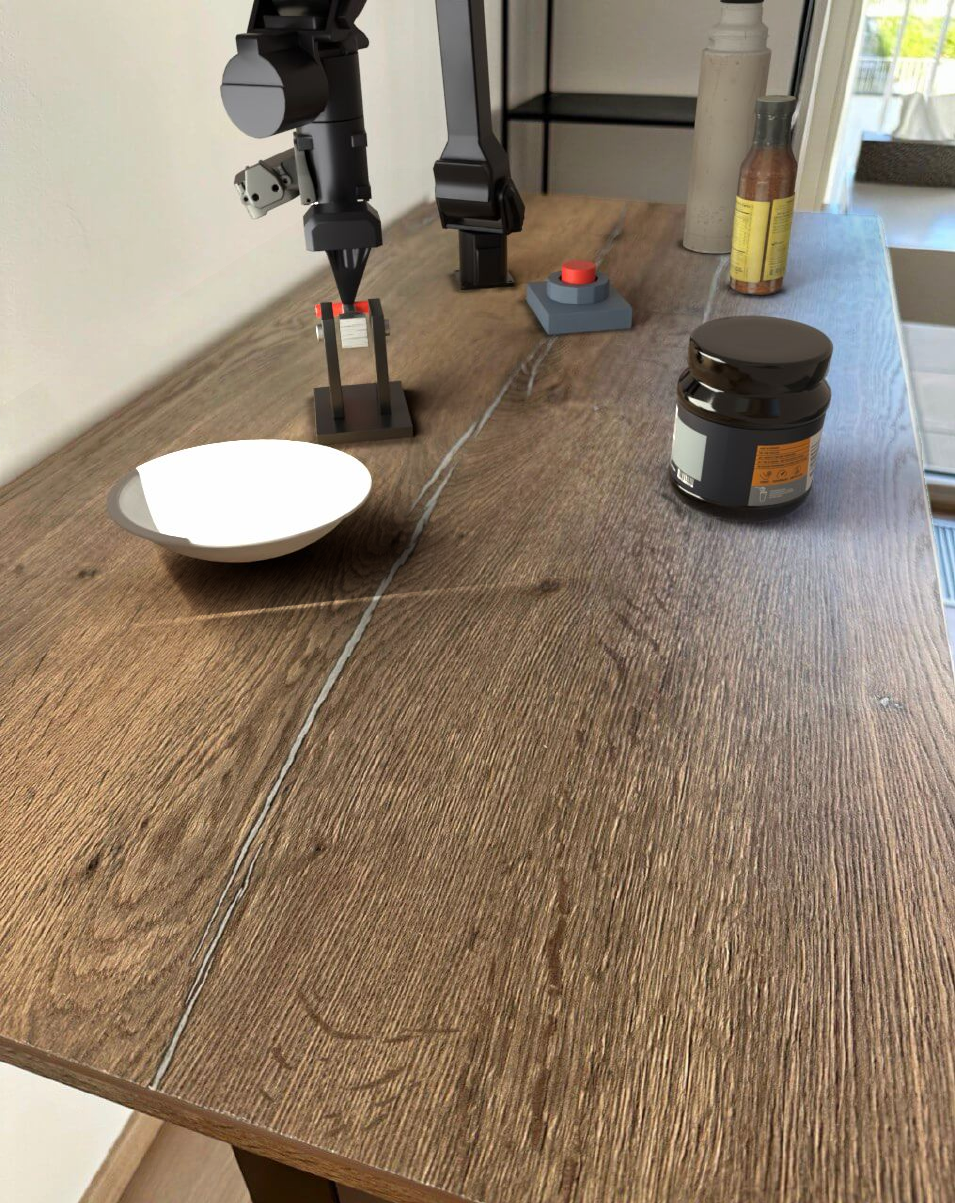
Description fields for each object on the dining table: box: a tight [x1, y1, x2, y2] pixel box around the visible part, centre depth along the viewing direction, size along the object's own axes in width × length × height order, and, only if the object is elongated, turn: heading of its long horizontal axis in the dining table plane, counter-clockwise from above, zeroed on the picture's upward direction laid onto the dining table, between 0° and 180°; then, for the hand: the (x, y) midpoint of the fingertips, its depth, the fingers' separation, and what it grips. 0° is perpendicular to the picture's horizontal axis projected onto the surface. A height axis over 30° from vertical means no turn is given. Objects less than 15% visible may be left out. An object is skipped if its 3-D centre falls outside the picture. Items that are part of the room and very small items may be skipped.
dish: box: [105, 439, 373, 563], centre depth 65 cm, size 18×14×5 cm
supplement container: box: [667, 315, 834, 523], centre depth 69 cm, size 10×10×12 cm
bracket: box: [313, 297, 414, 446], centre depth 81 cm, size 10×8×10 cm
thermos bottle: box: [682, 0, 773, 255], centre depth 117 cm, size 8×8×28 cm
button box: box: [526, 269, 634, 336], centre depth 104 cm, size 11×9×4 cm
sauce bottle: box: [728, 94, 798, 296], centre depth 105 cm, size 7×6×20 cm
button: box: [561, 259, 597, 284], centre depth 102 cm, size 4×4×2 cm
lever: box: [315, 299, 370, 350], centre depth 84 cm, size 13×6×2 cm, turn 9°
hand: (348, 302), depth 89 cm, fingers closed
